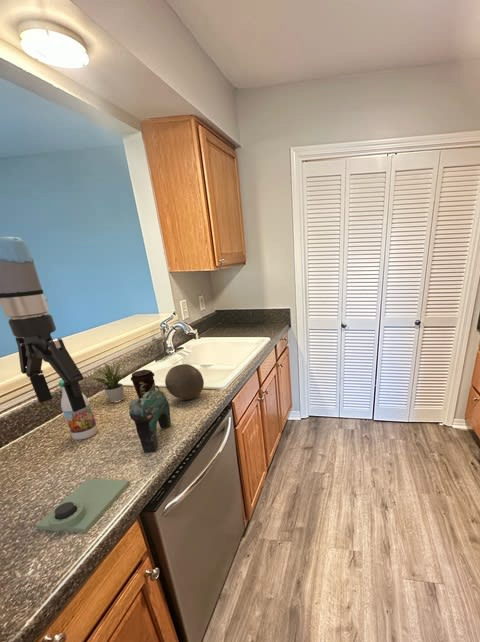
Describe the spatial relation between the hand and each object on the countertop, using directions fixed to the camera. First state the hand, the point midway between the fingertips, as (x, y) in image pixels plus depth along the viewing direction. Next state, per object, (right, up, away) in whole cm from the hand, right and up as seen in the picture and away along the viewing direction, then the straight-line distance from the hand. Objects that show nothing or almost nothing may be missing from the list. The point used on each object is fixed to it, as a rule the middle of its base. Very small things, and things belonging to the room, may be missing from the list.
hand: (62, 404), depth 77 cm
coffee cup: (-5, -3, +55) cm, 56 cm away
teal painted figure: (+10, -13, +28) cm, 33 cm away
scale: (+5, -24, +1) cm, 25 cm away
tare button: (+5, -24, -5) cm, 25 cm away
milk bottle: (-16, -12, +33) cm, 39 cm away
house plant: (-20, -1, +60) cm, 63 cm away
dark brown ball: (+11, -2, +55) cm, 57 cm away
